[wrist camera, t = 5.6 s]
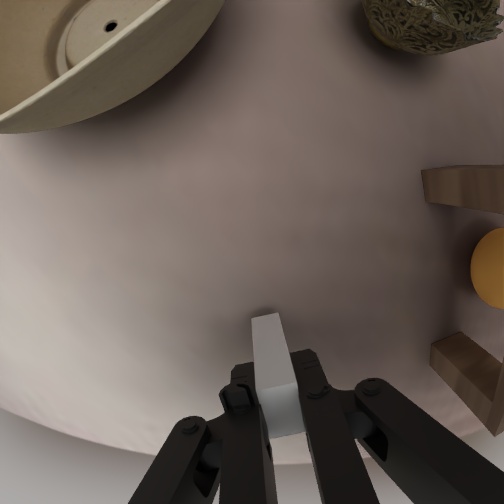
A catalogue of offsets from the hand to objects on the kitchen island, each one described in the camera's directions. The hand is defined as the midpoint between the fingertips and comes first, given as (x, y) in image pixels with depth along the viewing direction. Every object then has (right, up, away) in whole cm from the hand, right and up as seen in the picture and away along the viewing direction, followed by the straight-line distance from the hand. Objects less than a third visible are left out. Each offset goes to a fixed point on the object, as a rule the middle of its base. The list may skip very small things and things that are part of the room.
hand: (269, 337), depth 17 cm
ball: (+16, +4, -1) cm, 17 cm away
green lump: (+8, +19, -2) cm, 21 cm away
